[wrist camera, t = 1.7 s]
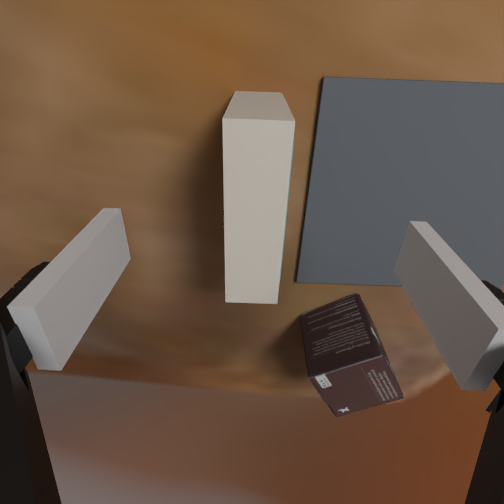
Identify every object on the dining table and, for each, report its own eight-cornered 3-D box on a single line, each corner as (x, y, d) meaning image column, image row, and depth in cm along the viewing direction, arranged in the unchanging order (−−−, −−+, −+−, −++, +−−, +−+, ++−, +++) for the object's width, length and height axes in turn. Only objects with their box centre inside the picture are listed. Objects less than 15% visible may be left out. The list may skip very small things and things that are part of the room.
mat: (296, 279, 29) (296, 282, 29) (323, 76, 20) (324, 77, 20) (497, 286, 29) (499, 289, 29) (609, 87, 20) (614, 87, 20)
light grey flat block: (234, 227, 26) (225, 302, 19) (235, 90, 21) (222, 118, 13) (273, 229, 26) (279, 304, 19) (284, 92, 21) (298, 120, 13)
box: (377, 332, 33) (406, 399, 26) (321, 351, 34) (335, 419, 28) (357, 290, 30) (384, 355, 24) (297, 313, 31) (307, 379, 25)
